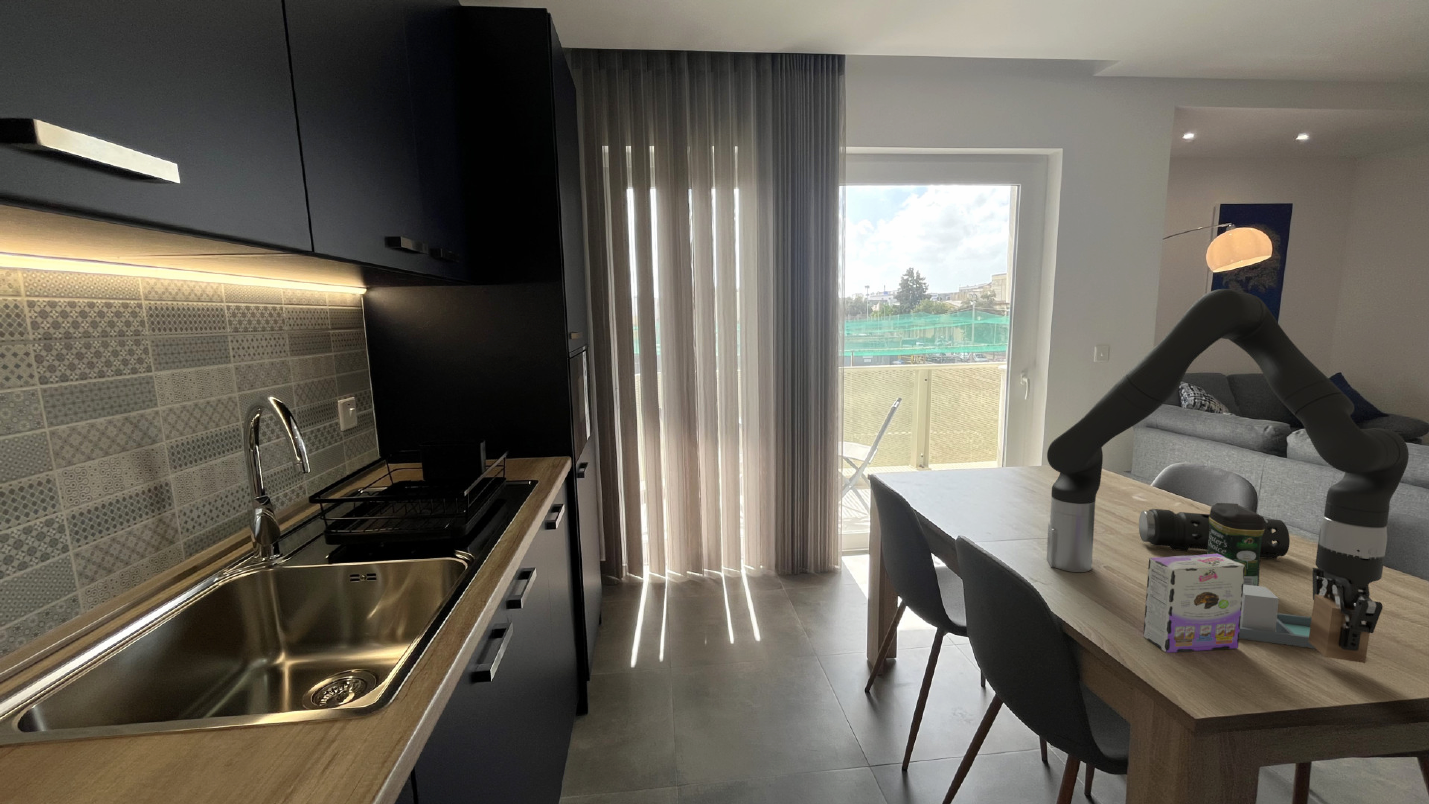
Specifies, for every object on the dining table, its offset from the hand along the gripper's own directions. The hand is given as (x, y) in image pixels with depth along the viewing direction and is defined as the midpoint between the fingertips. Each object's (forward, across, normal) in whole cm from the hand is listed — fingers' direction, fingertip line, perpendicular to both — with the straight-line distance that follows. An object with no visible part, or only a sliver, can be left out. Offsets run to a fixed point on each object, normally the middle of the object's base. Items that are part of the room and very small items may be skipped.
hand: (1337, 639), depth 98 cm
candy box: (+6, -2, -20) cm, 21 cm away
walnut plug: (+2, 0, 0) cm, 2 cm away
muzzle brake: (+6, -53, 0) cm, 53 cm away
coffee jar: (+6, -32, -3) cm, 33 cm away
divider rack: (+5, -11, -3) cm, 12 cm away
